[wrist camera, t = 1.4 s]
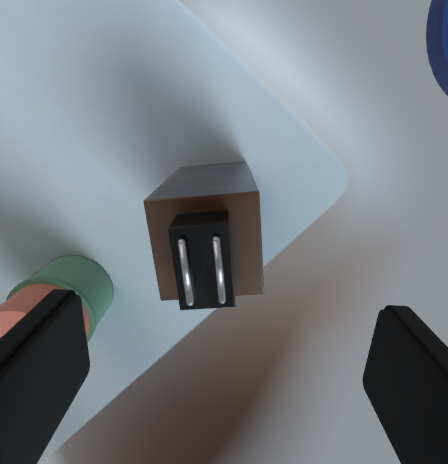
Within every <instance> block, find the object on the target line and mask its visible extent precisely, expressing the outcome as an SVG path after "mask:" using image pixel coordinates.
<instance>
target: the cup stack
mask: <svg viewBox="0 0 448 464" xmlns="http://www.w3.org/2000/svg"><path fill="white" fill-rule="evenodd" d="M53 289H64V290H74V291H75V293H76V295H80V297H81V300H82V308H83V315H84V323H85V330H86V337H87V343H88V341H89V340H90V339H91V337H92V335H93V333H94V331H95V328H96V326H97V324H98V323H99V321H100V320H101V318H102V317H103V315H104V314H105V312H106V311H107V309H108V308H109V306H110V304H111V302H112V300H113V294H114V292H113V285H112V281H111V279H110V277H109V276H108V274H107V273H106V271H105V270H104V269H103V268H102V267H101V266H100V265H98V264H97V263H95V262H94V261H92V260H90V259H88V258H85V257H81V256H75V255H68V256H62V257H59V258H57V259H55V260H53V261H52V262H50V263H49V264H48V265H46V266H45V267H44V268H42V269H41V270H40V271H39V272H37V273H36V274H35V275H33V276H32V277H31V278H30V279H27V280H25V281H23V282H21V283H20V284H18V285H17V286H16V287H15V288H14V289H13V290H12V291H11V292H10V293H9V295H8V297H7V299H6V301H5V302H4V303H3V304H1V305H0V338H1V337H2V336H3V335H4V334H5V333H7V332H8V331H9V330H10V329H11V328H12V327H13V326H14V325H15V324H16V323H17V322H18V321H19V320H20V319H22V318H23V317H24V316H25V315H26V314H27V313H28V312H29V311H30V310H31V309H32V308H33V307H34V306H35V305H37V304H38V303H39V302H40V301H41V300H42V299H43V298H44V297H45V296H46V295H47V294H48V293H49V292H51V291H52V290H53Z"/></svg>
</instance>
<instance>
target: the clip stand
mask: <svg viewBox="0 0 448 464" xmlns="http://www.w3.org/2000/svg"><path fill="white" fill-rule="evenodd" d="M144 207H145V213H146V219H147V224H148V230H149V236H150V241H151V247H152V253H153V259H154V264H155V270H156V276H157V281H158V287H159V293H160V299H161V300H162V301H163V300H178V299H179V298H178V292H177V285H176V279H175V272H174V266H173V259H172V253H171V246H170V239H169V233H168V228H169V226H170V225H171V223H172V221H173V220H174V218H175V216H176V214H185V213H198V212H211V211H224V210H229V220H230V232H231V244H232V256H233V268H234V281H235V296H241V295H256V294H264V281H263V259H262V238H261V216H260V195H259V190H258V188H257V186H256V183H255V181H254V179H253V176H252V174H251V172H250V169H249V167H248V165H247V163H246V162H237V163H225V164H213V165H201V166H189V167H181V168H180V169H178V170H177V171H176V172H175V173H174V174H173V175H172V176H171V177H169V178H168V179H167V180H166V181H165V182H164V183H163V184H162V185H160V186H159V187H158V188H157V189H156V190H155V191H154V192H153V193H152V194H150V195H149V196H148V197H147V198H146V199H145V200H144Z"/></svg>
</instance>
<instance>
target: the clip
mask: <svg viewBox="0 0 448 464" xmlns="http://www.w3.org/2000/svg"><path fill="white" fill-rule="evenodd" d="M168 233H169V239H170V246H171V253H172V259H173V266H174V272H175V279H176V285H177V292H178V298H179V305H180V310H190V309H206V308H222V307H235V281H234V268H233V256H232V244H231V232H230V220H229V210H224V211H211V212H198V213H185V214H176V216H175V218H174V220H173V221H172V223H171V225H170V226H169V228H168Z"/></svg>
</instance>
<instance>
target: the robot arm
mask: <svg viewBox="0 0 448 464" xmlns="http://www.w3.org/2000/svg"><path fill="white" fill-rule="evenodd" d="M89 368H90V360H89V352H88V345H87V337H86V330H85V323H84V315H83V308H82V300H81V297H80V295H76V293H75V291H74V290H64V289H53V290H52V291H51V292H49V293H48V294H47V295H46V296H45V297H44V298H43V299H42V300H41V301H40V302H39V303H38V304H37V305H35V306H34V307H33V308H32V309H31V310H30V311H29V312H28V313H27V314H26V315H25V316H24V317H23V318H22V319H20V320H19V321H18V322H17V323H16V324H15V325H14V326H13V327H12V328H11V329H10V330H9V331H8V332H7V333H5V334H4V335H3V336H2V337H1V338H0V464H37V462H38V461H39V459H40V457H41V455H42V454H43V452H44V450H45V448H46V447H47V445H48V443H49V441H50V440H51V438H52V436H53V434H54V433H55V431H56V429H57V427H58V426H59V424H60V422H61V420H62V419H63V417H64V415H65V413H66V412H67V410H68V408H69V406H70V405H71V403H72V401H73V399H74V398H75V396H76V394H77V392H78V391H79V389H80V387H81V386H82V384H83V382H84V380H85V379H86V377H87V375H88V372H89ZM363 386H364V389H365V392H366V394H367V396H368V398H369V400H370V402H371V404H372V406H373V408H374V410H375V412H376V414H377V416H378V418H379V420H380V422H381V424H382V426H383V428H384V430H385V432H386V434H387V436H388V438H389V440H390V442H391V444H392V446H393V448H394V450H395V452H396V454H397V456H398V458H399V460H400V462H401V464H448V347H447V346H446V345H445V344H444V343H443V342H442V341H441V340H440V339H439V338H438V337H437V336H436V335H435V334H434V333H433V332H432V331H431V329H430V328H429V327H428V326H427V325H426V324H425V323H424V322H423V321H422V320H421V319H420V318H419V317H418V316H417V315H416V314H415V313H414V312H413V311H412V309H410V308H409V307H407V306H392V305H388V306H386V307H385V309H384V310H380V312H379V314H378V318H377V322H376V326H375V330H374V334H373V338H372V343H371V346H370V350H369V355H368V358H367V362H366V367H365V370H364V374H363Z"/></svg>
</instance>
